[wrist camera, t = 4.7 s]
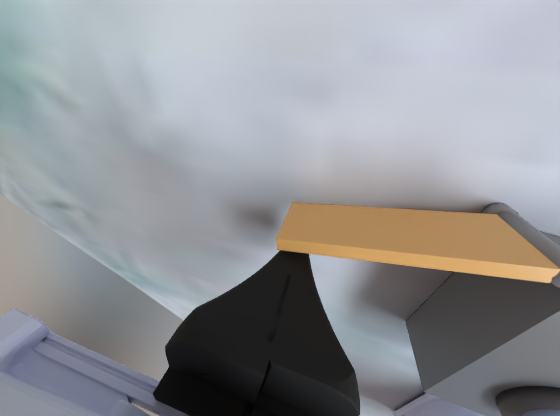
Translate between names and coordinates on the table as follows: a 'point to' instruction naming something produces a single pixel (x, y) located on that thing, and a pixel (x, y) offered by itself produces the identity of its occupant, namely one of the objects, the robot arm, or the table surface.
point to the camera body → (491, 342)
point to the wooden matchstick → (424, 239)
